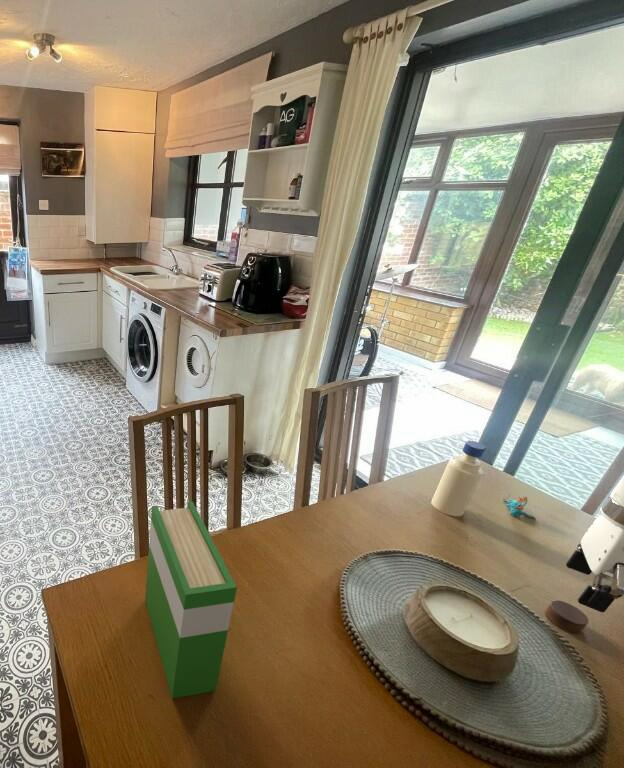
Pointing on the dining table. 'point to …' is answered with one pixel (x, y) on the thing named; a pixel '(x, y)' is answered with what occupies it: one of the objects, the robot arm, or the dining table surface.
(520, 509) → the dragon figurine
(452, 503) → the bottle
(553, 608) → the chip
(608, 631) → the dining table surface
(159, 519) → the hardback book
